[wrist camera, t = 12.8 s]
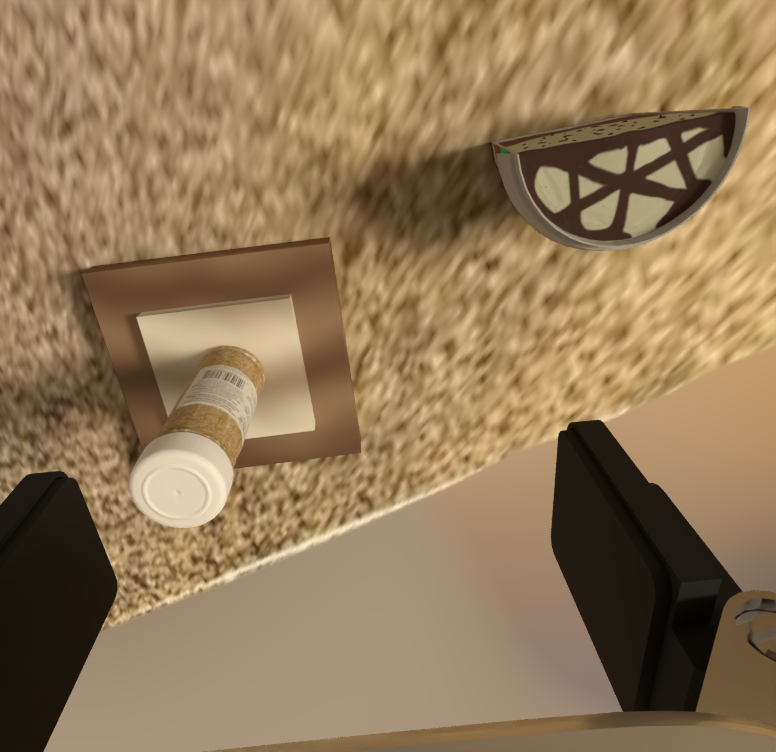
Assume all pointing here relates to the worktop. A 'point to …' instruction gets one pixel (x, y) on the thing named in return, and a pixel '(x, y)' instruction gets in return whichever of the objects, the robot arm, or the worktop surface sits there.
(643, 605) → the robot arm
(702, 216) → the worktop surface
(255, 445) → the stacking base
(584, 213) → the food container
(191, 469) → the sprinkles bottle
